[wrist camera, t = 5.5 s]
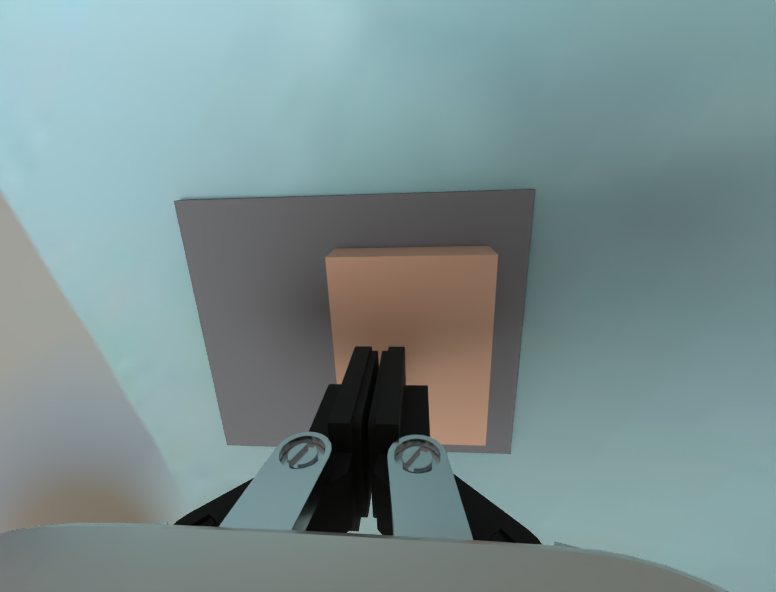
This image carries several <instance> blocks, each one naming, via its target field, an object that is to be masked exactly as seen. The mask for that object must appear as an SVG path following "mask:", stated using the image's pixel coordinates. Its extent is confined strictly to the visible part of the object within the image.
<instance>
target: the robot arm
mask: <svg viewBox="0 0 776 592" xmlns="http://www.w3.org/2000/svg"><path fill="white" fill-rule="evenodd" d="M371 493H372V506H373V517H374V518H377V529H378V530H379V531H380V533H381V534H382V535H373V534H354V533H347V532H348V531H359V526H360V520H361V517H368V513H369V507H370V500H371ZM0 592H729V591H727V590H725V589H723V588H721V587H719V586H717V585H715V584H713V583H711V582H708V581H706V580H704V579H701V578H699V577H696V576H693V575H691V574H688V573H686V572H683V571H680V570H678V569H675V568H672V567H670V566H667V565H663V564H660V563H656V562H652V561H648V560H645V559H641V558H638V557H634V556H629V555H624V554H618V553H613V552H607V551H602V550H592V549H582V548H577V547H574V546H570V545H566V544H562V543H558V542H555V543H554V546H552V545H543V544H541V542H540V541H539V539H538V538H537V537H536V536H534V535H533V534H532V533H531V532H530V531H529V530H528V529H527V528H525V527H524V526H523V525H521V524H520V523H519V522H517V521H516V520H515V519H513V518H512V517H511V516H509V515H508V514H507V513H505V512H504V511H503V510H501V509H500V508H499V507H497V506H496V505H494V504H493V503H492V502H490V501H489V500H488V499H486V498H485V497H484V496H482V495H481V494H480V493H478V492H477V491H476V490H474V489H473V488H472V487H470V486H469V485H468V484H466V483H465V482H464V481H462V480H461V479H460V478H458V477H457V476H456V475H454V474H453V472H452V469H451V465H450V462H449V459H448V456H447V452H446V451H445V449H444V447H443V446H442V445H441V444H440V443H439V442H438V441H437V440H435V439H433V438H431V437H430V422H429V400H428V385H406V369H405V347H389V348H388V351H382V355H381V360H380V365H379V359H378V351H372V346H355V348H354V351H353V354H352V356H351V359H350V362H349V365H348V367H347V370H346V373H345V375H344V378H343V381H342V384H329V385H328V387H327V389H326V392H325V394H324V396H323V399H322V401H321V404H320V406H319V408H318V411H317V413H316V415H315V418H314V420H313V422H312V425H311V427H310V429H309V432H303V433H297V434H295V435H292V436H290V437H288V438H286V439H285V440H283V441H282V442H281V443H280V444H279V445H278V446H277V447H276V448H275V450H274V451H273V453H272V454H271V455H270V457H269V458H268V459H267V461H266V462H265V464H264V465H263V466H262V468H261V469H260V470H259V472H258V473H257V475H256V476H255V477H254V478H253V479H251V480H249V481H247V482H245V483H244V484H242V485H240V486H238V487H236V488H234V489H233V490H231V491H229V492H227V493H225V494H223V495H222V496H220V497H218V498H216V499H214V500H212V501H211V502H209V503H207V504H205V505H203V506H202V507H200V508H198V509H196V510H194V511H192V512H191V513H189V514H187V515H186V516H184V517H183V518H181V519H180V520H178V521H177V522H176V523H175V524H174V525H168V522H165V523H158V524H137V523H63V524H50V525H40V526H34V527H29V528H23V529H17V530H12V531H8V532H4V533H1V534H0Z"/></svg>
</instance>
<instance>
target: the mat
mask: <svg viewBox="0 0 776 592" xmlns="http://www.w3.org/2000/svg"><path fill="white" fill-rule="evenodd" d="M534 198H535V190H534V189H522V190H490V191H458V192H426V193H394V194H362V195H330V196H298V197H266V198H234V199H202V200H177V201H174V204H175V208H176V213H177V218H178V222H179V227H180V231H181V236H182V241H183V245H184V250H185V254H186V259H187V263H188V268H189V273H190V277H191V282H192V286H193V291H194V295H195V300H196V305H197V309H198V314H199V318H200V323H201V327H202V332H203V337H204V341H205V346H206V350H207V355H208V360H209V364H210V369H211V373H212V378H213V382H214V387H215V392H216V396H217V401H218V405H219V410H220V414H221V419H222V424H223V428H224V433H225V437H226V442H227V445H240V446H273V447H277V446H278V445H279V444H280V443H281V442H282V441H283V440H285V439H286V438H288V437H290V436H292V435H295V434H297V433H303V432H309V429H310V427H311V425H312V422H313V420H314V418H315V415H316V413H317V411H318V408H319V406H320V404H321V401H322V399H323V396H324V394H325V392H326V389H327V387H328V385H329V384H337V381H336V370H335V359H334V348H333V337H332V326H331V316H330V305H329V294H328V283H327V272H326V261H325V257H326V256H327V255H328V254H329V253H331V252H332V251H333V250H334V249H335V248H389V247H444V246H490V247H491V248H492V249H493V250H494V251H495V252H496V253H497V254H498V265H497V280H496V295H495V310H494V325H493V341H492V356H491V371H490V386H489V402H488V417H487V432H486V446H480V445H445V444H441V445H442V446H443V447H444V449H445V451H446V452H469V453H502V454H511V443H512V432H513V422H514V411H515V400H516V390H517V379H518V369H519V358H520V347H521V337H522V326H523V315H524V305H525V294H526V283H527V273H528V262H529V251H530V241H531V230H532V220H533V209H534Z"/></svg>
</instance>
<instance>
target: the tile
mask: <svg viewBox="0 0 776 592" xmlns="http://www.w3.org/2000/svg"><path fill="white" fill-rule="evenodd" d="M325 261H326V272H327V283H328V294H329V305H330V316H331V326H332V337H333V348H334V359H335V370H336V381H337V384H342V381H343V378H344V375H345V373H346V370H347V367H348V365H349V362H350V359H351V356H352V354H353V351H354V348H355V346H372V351H378V359H379V365H380V360H381V355H382V351H388V348H389V347H405V369H406V385H428V400H429V422H430V437H431V438H433V439H435V440H437V441H438V442H439V443H440V444H445V445H480V446H486V432H487V417H488V402H489V386H490V371H491V356H492V341H493V325H494V310H495V295H496V280H497V265H498V254H497V253H496V252H495V251H494V250H493V249H492V248H491V247H490V246H444V247H389V248H335V249H334V250H333V251H332V252H331V253H329V254H328V255H327V256H326V257H325Z"/></svg>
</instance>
